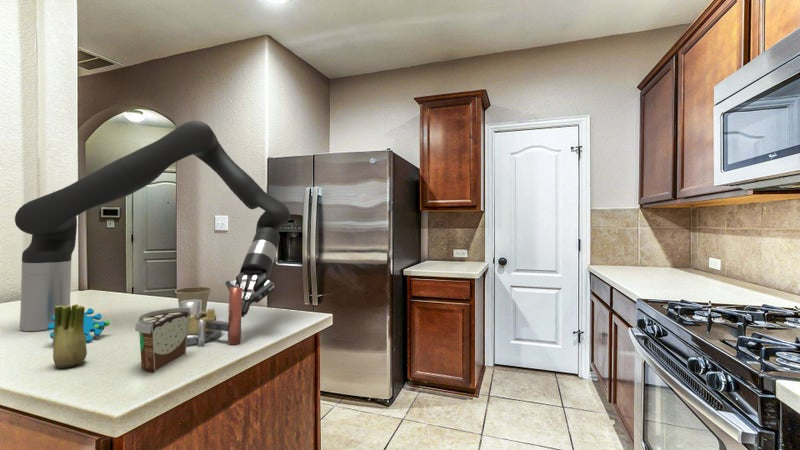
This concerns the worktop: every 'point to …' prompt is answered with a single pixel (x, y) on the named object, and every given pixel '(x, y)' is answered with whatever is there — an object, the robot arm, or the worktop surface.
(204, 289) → the flower pot
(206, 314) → the reddish rod with blocks
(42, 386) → the worktop surface
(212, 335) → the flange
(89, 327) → the blue spiky virus model
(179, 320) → the food container
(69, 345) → the fennel bulb
